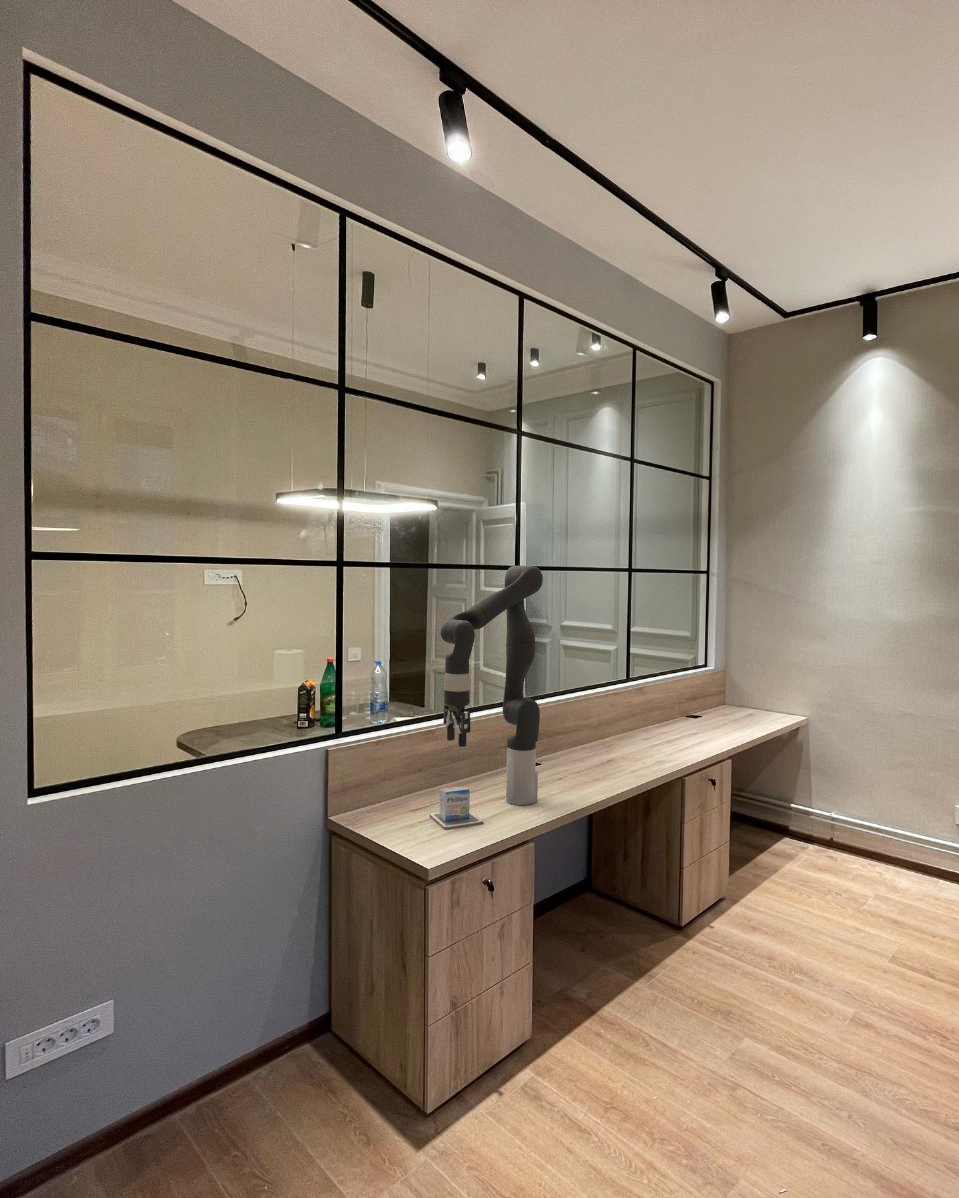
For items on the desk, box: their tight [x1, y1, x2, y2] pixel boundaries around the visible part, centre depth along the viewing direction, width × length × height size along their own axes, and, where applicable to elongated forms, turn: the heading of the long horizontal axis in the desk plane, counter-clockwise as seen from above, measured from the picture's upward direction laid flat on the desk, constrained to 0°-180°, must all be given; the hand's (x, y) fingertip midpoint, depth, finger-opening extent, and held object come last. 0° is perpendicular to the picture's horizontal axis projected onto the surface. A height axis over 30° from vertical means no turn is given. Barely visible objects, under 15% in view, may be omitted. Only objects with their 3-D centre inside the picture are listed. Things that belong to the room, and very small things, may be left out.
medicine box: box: [439, 785, 471, 822], centre depth 200 cm, size 8×4×9 cm, turn 115°
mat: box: [429, 810, 484, 831], centre depth 200 cm, size 12×12×1 cm
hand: (456, 743), depth 200 cm, fingers open, 8 cm apart
